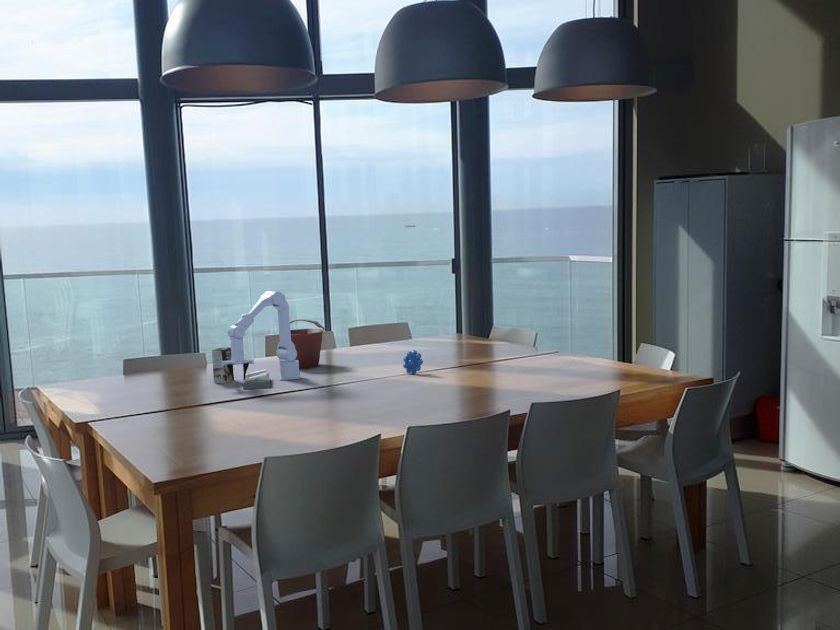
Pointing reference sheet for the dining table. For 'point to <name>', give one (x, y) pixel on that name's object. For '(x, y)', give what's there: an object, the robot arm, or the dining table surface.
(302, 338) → the bucket
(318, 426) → the dining table surface
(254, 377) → the rocker
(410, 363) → the blue lobed wheel
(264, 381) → the switch panel
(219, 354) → the coffee box
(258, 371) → the rocker
